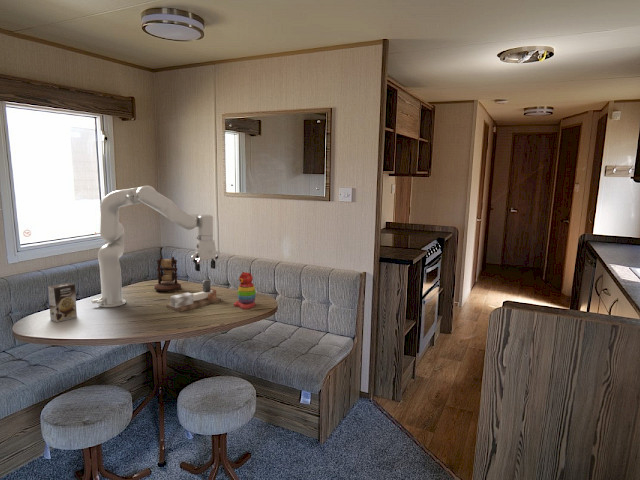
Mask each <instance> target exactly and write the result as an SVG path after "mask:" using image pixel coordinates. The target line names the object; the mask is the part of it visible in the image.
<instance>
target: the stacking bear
mask: <svg viewBox="0 0 640 480" xmlns="http://www.w3.org/2000/svg"><path fill="white" fill-rule="evenodd" d="M253 279H254V278H253V275H252V273H250V272H245V271H242V273H241V274H240V276H239V277H238V280H239V286H238V289H237V298H238V300H236V301H234V304H233V306H234V307H238V308H241V309H242V310H250V309H253V308H254V307H255V306H256V302H255V301H256V296H257V294H256V293H257V292H256V287H255V284H254V283H253Z"/></svg>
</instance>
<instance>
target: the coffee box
mask: <svg viewBox="0 0 640 480" xmlns="http://www.w3.org/2000/svg"><path fill="white" fill-rule="evenodd" d="M48 298H49V299H48V301H49V315H50V316H49V317H50V320H51V321H53V322H56V323H59V322H60V323H61V322H64V321H67V320H71V319H75V318H77V317H78V314H77V313H78V312H77V298H76V284H75V283H72V282H66V283H65V282H64V283H60V284H53V285H48Z"/></svg>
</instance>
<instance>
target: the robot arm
mask: <svg viewBox="0 0 640 480" xmlns="http://www.w3.org/2000/svg"><path fill="white" fill-rule="evenodd" d="M101 201H102V202H101V204H100V205H101V206H100V225H99V227H100V229H99V234H100V238H101V239H102V240H103V241H104V245H102V246H101V247H100V248H99V250H98V252H97V259H98V264H99V275H100V276H99V277H100V288H101V289H100V291H101V293H100V294H101V295H100V296H99V297H98V298H96V299H92V300H91V303H92V304H97V305H98V306H99V307H101V308H114V307H115V308H116V307H120V306H124V305H125V304H126V302H127V301H126V299H124V298H123V287H122V286H123V285H122V271H121V262H120V258H121V257H122V256H123V255H124V253H125V238H126V237H125V227H124V226H123V224H122V223H121V222H120V209H121V208H124V207H129V206H133V205H138V204H144V205H146V206H148V207H150V208H151V209H153V211H154V210H155V211H156V212H158V213H159V214H161V215H162V216H163V217H165V218H166V219H168V220H170V221H171V222H173V223H174V224H175V225H178V227H179V226H180V227H181V228H183V229H184V230H187V231H190V230H192V231H193V230H194V229H195V228H197V230H198V231H197V232H198V233H197V236H196V240H197V241H196V244H195V245H196V246H195V252H194V253H193V254H192V255H191V256H190V259H191V260H192V262H193V264H194V270H195V271H196V272H200V271H201V263H200V262H201V261H208V260H210V268H211V269H213V270H215V269H216V262H217V260H218V258H219V256H220V252H219V251H217V250H216V249H217V248H216V243H215V242H216V241H215V240H214V235H213V234H214V218H213V216H212V215H211V214H195V213H187V212H186V211H184V210H183V209H181V208H179V207H178V206H177V205H176V204H175V203H174V201H173V200H171V199H170V198H168V197H166V196H165V195H163V194H162V193H160V192H158V191H156V188H154V187H153V186H151V185H143V186H139V187H133V188H125V189H118V190H114V191H112V192H110V193H108V194H106V195H105V196H104V197H103V199H102V200H101Z"/></svg>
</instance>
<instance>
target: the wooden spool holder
mask: <svg viewBox="0 0 640 480" xmlns="http://www.w3.org/2000/svg"><path fill="white" fill-rule="evenodd" d="M177 262H178V260H177V259H175V257H174V256H172V257H171V258H163V256H160V257H159V259H157V260H156V263H157V269H156V270H157V284H155V285H154V290H155V291H156V293H158V292H159V291H160V292H170V291H172V293H175V291H176V290H179V289H181V288H182V284H181V283H179V282H178V273H177V271H178V266H177Z"/></svg>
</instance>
